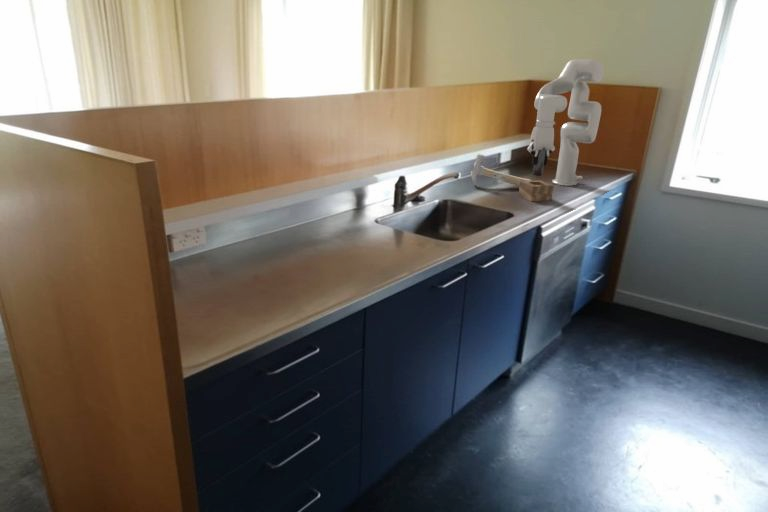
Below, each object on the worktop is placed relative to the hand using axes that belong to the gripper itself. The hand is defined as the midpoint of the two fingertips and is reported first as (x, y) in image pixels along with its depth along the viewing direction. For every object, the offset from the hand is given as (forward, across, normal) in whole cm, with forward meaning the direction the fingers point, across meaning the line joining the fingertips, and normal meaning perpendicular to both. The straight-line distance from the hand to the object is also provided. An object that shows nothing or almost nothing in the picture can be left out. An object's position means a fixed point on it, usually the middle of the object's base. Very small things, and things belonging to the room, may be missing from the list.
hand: (539, 164), depth 246 cm
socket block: (+16, 0, 0) cm, 16 cm away
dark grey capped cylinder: (+5, 0, 0) cm, 5 cm away
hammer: (+16, +6, -23) cm, 29 cm away
